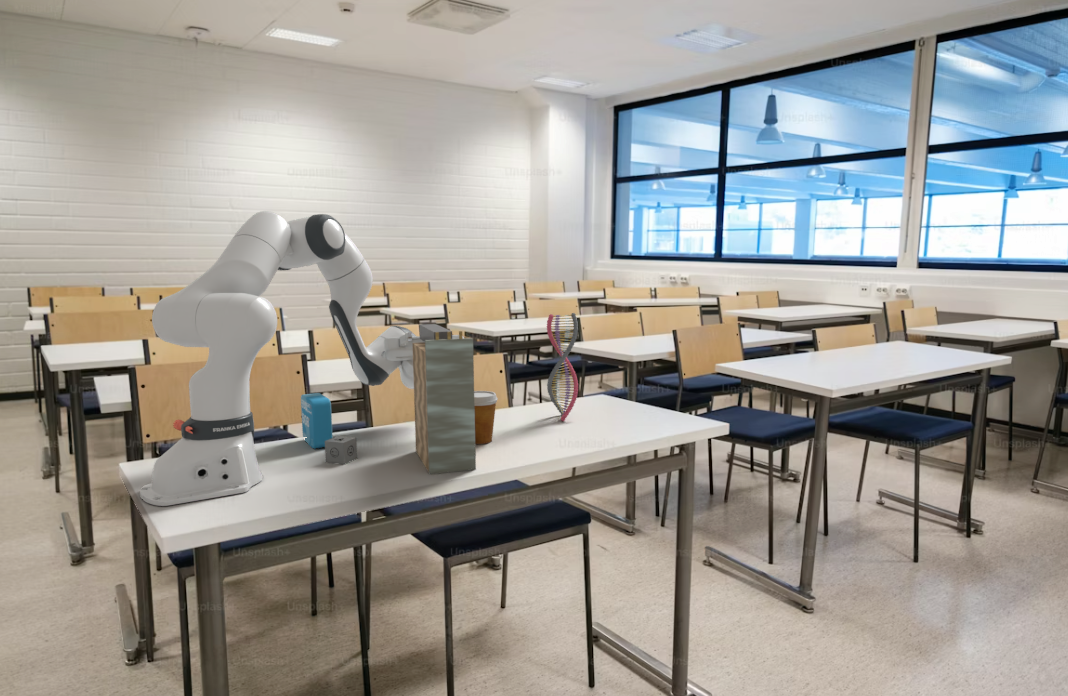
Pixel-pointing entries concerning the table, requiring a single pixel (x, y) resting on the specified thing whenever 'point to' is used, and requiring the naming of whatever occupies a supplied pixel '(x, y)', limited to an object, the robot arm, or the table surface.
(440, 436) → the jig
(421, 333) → the grey rectangular bar
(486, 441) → the disposable coffee cup
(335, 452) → the dice cube
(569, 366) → the dna model
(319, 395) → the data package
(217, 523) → the table surface
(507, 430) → the table surface
